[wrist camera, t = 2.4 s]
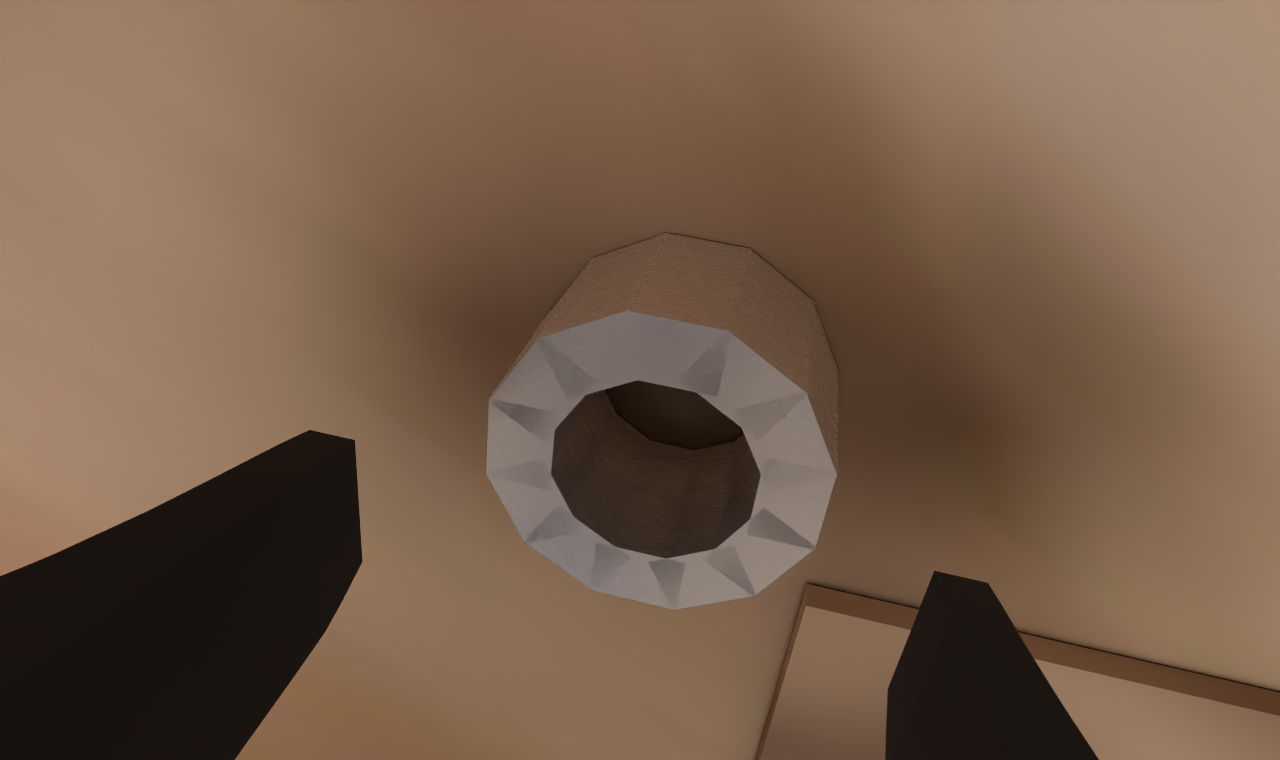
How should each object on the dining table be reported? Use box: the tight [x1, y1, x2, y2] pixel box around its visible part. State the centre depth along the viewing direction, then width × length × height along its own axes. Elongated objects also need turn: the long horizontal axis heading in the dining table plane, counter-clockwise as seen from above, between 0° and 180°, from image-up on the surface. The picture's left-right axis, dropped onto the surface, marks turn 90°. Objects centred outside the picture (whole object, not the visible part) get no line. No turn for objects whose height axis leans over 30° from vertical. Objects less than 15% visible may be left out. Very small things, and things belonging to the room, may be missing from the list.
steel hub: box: [485, 232, 838, 610], centre depth 14 cm, size 5×5×3 cm
